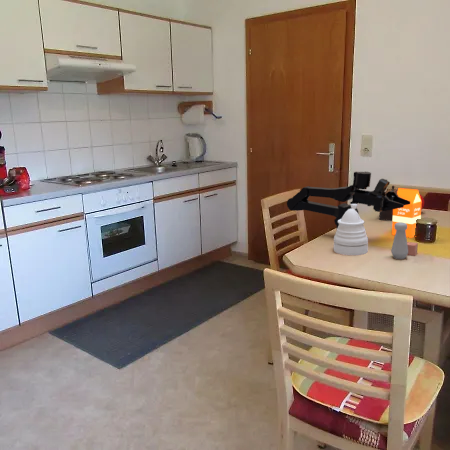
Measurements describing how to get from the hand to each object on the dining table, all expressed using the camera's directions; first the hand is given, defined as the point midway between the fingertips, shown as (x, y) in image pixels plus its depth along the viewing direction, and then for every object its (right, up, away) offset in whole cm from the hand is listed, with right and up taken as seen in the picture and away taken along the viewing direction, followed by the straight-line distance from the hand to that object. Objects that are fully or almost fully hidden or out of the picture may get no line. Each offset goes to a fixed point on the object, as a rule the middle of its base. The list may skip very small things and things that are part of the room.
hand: (407, 204), depth 175 cm
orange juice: (+7, -12, +19) cm, 24 cm away
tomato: (+26, -2, +59) cm, 65 cm away
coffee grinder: (+11, -6, +47) cm, 49 cm away
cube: (-2, -19, -7) cm, 20 cm away
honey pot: (-22, -18, 0) cm, 28 cm away
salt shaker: (-7, -20, -11) cm, 24 cm away
